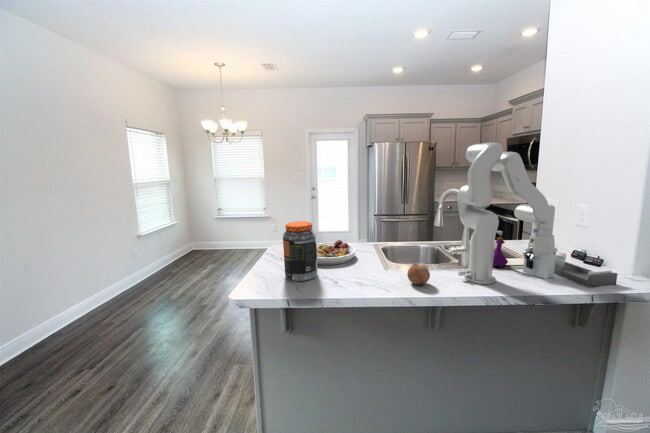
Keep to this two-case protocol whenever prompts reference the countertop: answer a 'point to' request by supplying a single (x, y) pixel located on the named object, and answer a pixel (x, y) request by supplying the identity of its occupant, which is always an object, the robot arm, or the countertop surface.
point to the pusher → (599, 272)
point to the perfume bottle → (499, 252)
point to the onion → (418, 274)
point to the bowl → (334, 253)
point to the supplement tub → (300, 251)
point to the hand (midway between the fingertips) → (538, 267)
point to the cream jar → (560, 260)
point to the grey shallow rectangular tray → (586, 276)
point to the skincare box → (541, 265)
